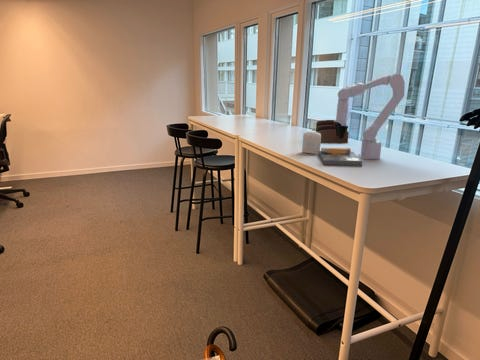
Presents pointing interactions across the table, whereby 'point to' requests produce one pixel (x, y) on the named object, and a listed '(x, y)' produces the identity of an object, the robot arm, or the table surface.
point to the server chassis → (340, 159)
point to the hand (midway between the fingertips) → (339, 137)
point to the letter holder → (329, 132)
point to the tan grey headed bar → (335, 150)
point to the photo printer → (311, 142)
